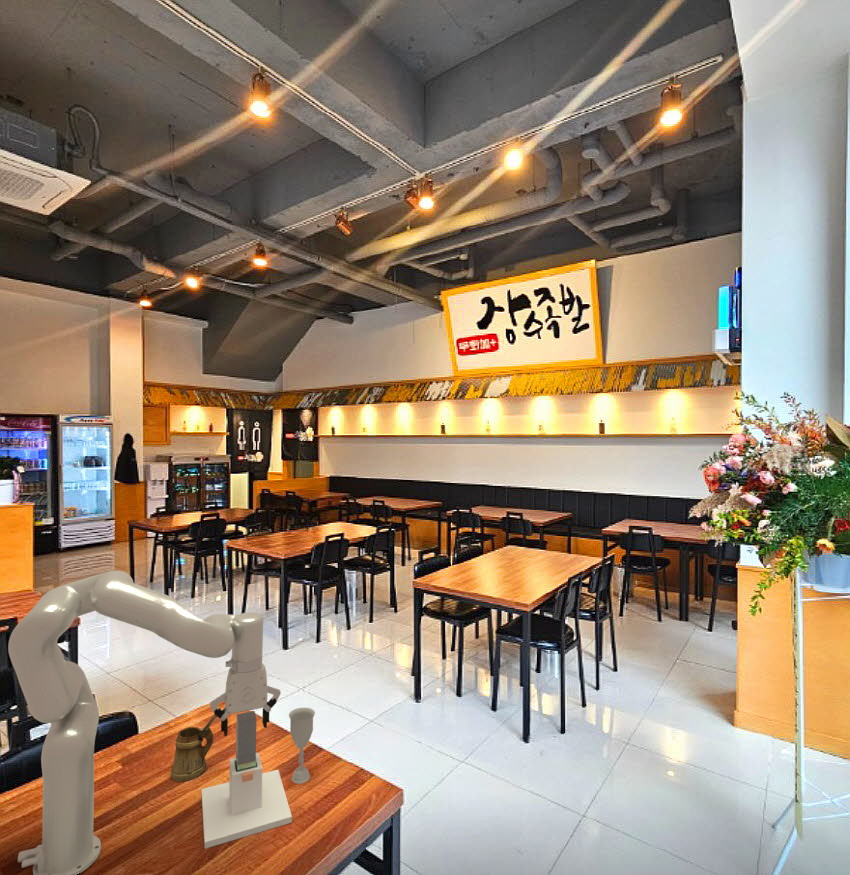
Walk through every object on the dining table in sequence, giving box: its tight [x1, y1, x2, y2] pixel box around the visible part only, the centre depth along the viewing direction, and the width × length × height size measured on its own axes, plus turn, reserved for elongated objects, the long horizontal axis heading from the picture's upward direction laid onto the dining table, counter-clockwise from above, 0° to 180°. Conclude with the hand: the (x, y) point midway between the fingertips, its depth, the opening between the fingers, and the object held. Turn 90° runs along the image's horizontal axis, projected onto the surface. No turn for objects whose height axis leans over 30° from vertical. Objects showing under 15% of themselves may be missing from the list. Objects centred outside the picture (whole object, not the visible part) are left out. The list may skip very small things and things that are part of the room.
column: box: [235, 710, 257, 772], centre depth 133 cm, size 4×4×16 cm
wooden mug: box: [170, 707, 222, 783], centre depth 147 cm, size 9×14×18 cm, turn 92°
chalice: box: [288, 707, 316, 785], centre depth 145 cm, size 7×7×18 cm
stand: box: [201, 752, 293, 849], centre depth 133 cm, size 20×20×12 cm
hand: (245, 729), depth 133 cm, fingers open, 9 cm apart
